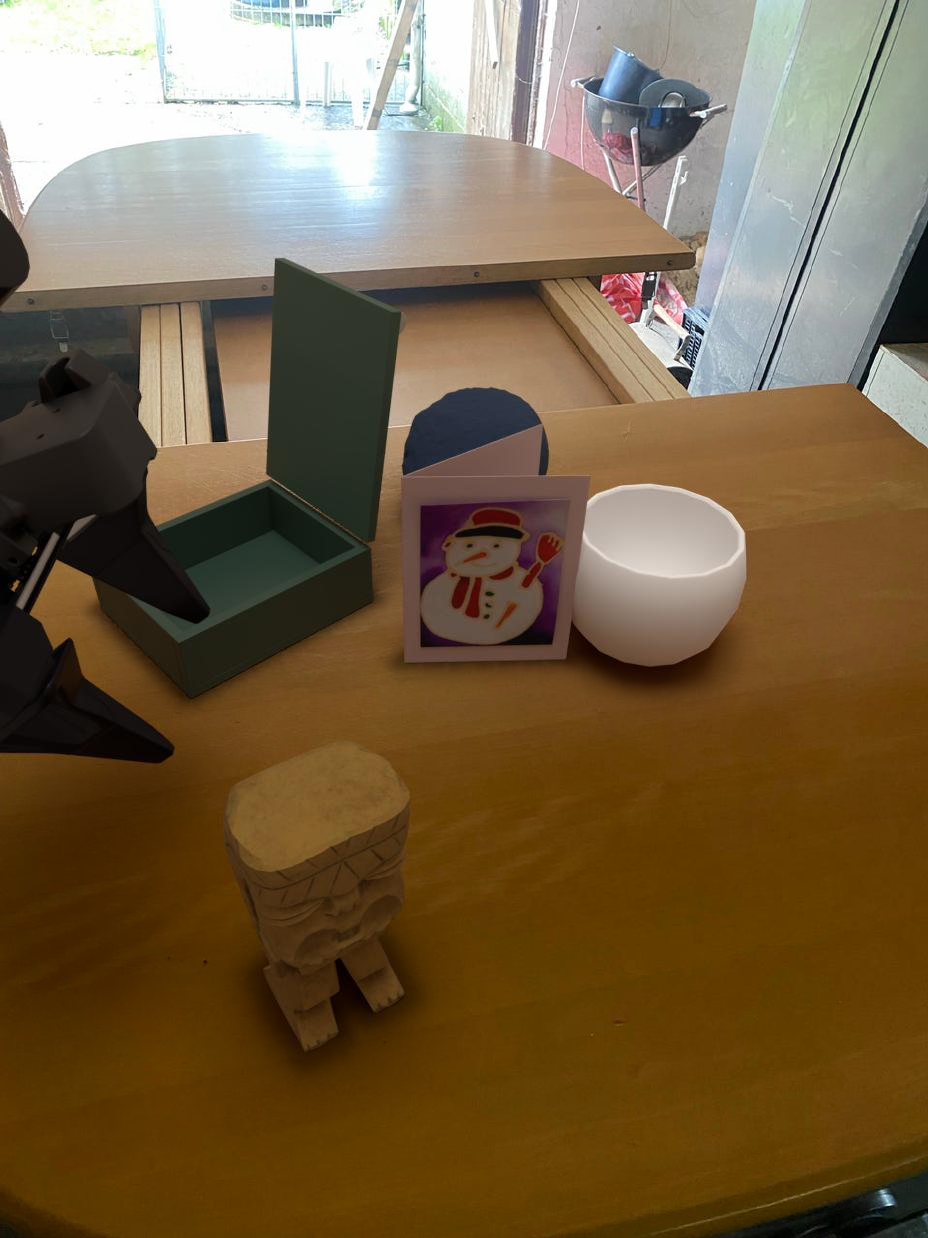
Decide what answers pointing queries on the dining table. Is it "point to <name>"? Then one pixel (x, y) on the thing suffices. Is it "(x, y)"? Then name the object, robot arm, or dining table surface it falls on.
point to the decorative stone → (468, 426)
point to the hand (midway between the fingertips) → (187, 681)
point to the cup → (657, 573)
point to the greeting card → (490, 555)
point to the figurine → (321, 876)
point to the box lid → (330, 394)
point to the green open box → (247, 585)
